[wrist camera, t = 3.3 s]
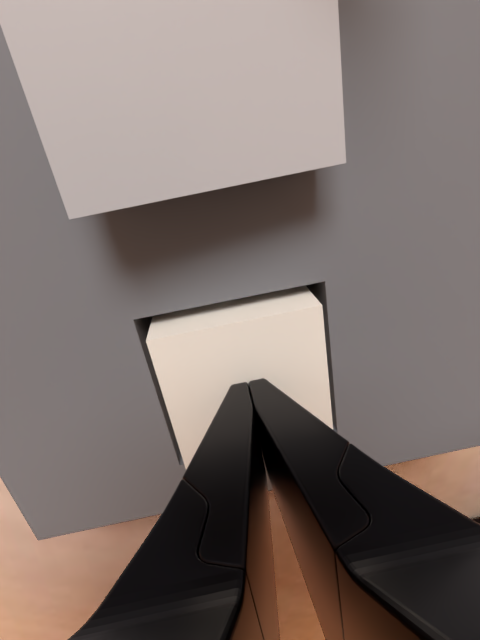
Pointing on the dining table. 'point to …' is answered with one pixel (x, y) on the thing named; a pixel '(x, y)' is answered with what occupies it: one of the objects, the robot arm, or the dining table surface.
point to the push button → (239, 357)
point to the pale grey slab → (177, 93)
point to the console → (252, 278)
